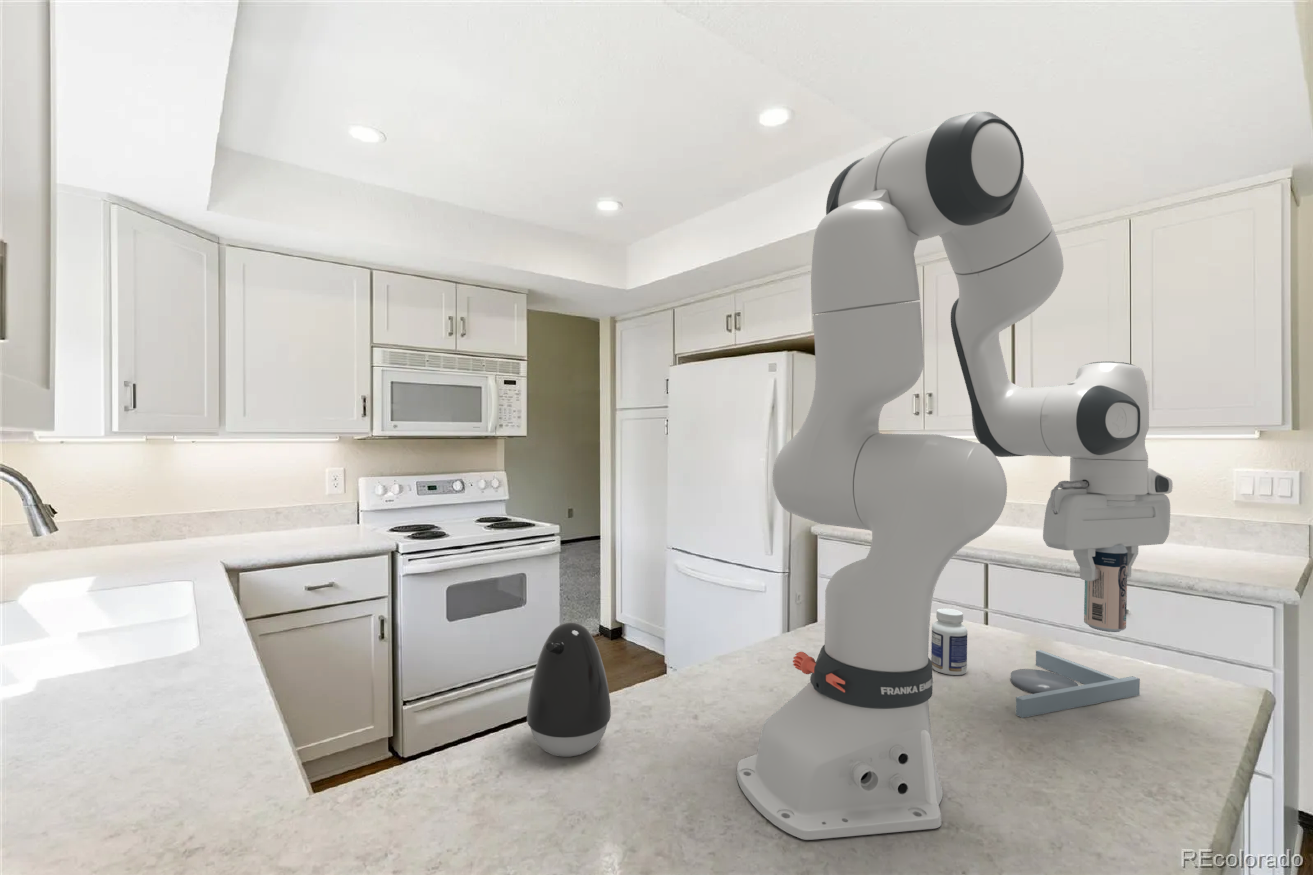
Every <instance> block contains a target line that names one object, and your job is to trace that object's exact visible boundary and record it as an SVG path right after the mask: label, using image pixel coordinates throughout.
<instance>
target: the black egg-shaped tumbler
mask: <svg viewBox="0 0 1313 875" xmlns="http://www.w3.org/2000/svg"><path fill="white" fill-rule="evenodd" d="M528 695H529V696H528V701H527V711H526V721H527V724H528V726H529V728H530V732H531V735H532V737H533V739H534V741H535V742H536V744H537V745H538V747H539V748H541V749H542V750H543V751H544V752H546V753H548V754H550V755H553V756H558V757H564V758H567V757H577V756H579V755H583V754H586V753H587V752H589V751H591V750H592V749H593V748H595V746H597V745H598V744H599V742H600V741H601V740H602V738H603V737H604V735H605V732H606V730H607V726H608V723H609V722H610V720H611V715H612V712H611V711H612V709H611V708H612V707H611V706H612V705H611V697H610V690H609V684H608V679H607V674H606V669H605V666H604V663H603V660H602V656H601V653H600V650H599V647H598V645H597V643H596V640H595V638H594V637H593V635H592V633H591V632H590V631H589V630H588V629H587V627H585V626H584V625H583V624H580V623H577V622H572V621H571V622H564V623H562V624H560V625H558V626H556V627H555V628H554V629H553V630H552V631H551V632H550V633H549V635H548V637H547V639H546V640H545V642H544V644H543V645H542V649H541V650H540V654H539V656H538V659H537V663H536V666H535V669H534V672H533V677H532V681H531V686H530V690H529V694H528Z"/></svg>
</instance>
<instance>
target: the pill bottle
mask: <svg viewBox="0 0 1313 875" xmlns="http://www.w3.org/2000/svg"><path fill="white" fill-rule="evenodd" d="M935 619H937V621H934V622H933V623H932V624H931V646H930V647H931V648H930V649H931V651H930V652H931V653H930V654H931V655H930V657H931V658H930V660H931V661H932V670H933V671H934V670H935V672H938V673H941V674H943V675H944V674H945V675H950V676H962V675H965V674H966V673H967V671H968V628H967V627H966V626H965V625H964V624H963V622H964V613H963V612H962V611H961V610H957V609H954V608H946V607H945V608H937V609H936V618H935Z"/></svg>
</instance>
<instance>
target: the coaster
mask: <svg viewBox="0 0 1313 875" xmlns="http://www.w3.org/2000/svg"><path fill="white" fill-rule="evenodd" d="M1010 682H1011V684H1012V685H1013V686H1015V687H1016V688H1018V689H1019V690H1021V691H1024V692H1025V693H1030V694H1035V693H1041V692H1047V691H1052V690H1058V689H1064V688H1069V687H1075V686H1079V684H1078V683H1077V681H1076V682H1075V680H1072V679H1070V678H1067V677H1065V676H1062V675H1060V674H1057V673H1055V672H1052V671H1049V670H1047V671H1046V670H1042V669H1036V668H1035V669H1033V668H1020V669H1015V670H1013V671H1011V672H1010Z"/></svg>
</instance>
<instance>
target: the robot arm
mask: <svg viewBox="0 0 1313 875" xmlns="http://www.w3.org/2000/svg"><path fill="white" fill-rule="evenodd" d="M1022 146H1023V145H1022V143H1021V140H1020V138H1019V135H1018V134H1017V132H1016V130H1014V128H1013V127H1012V126H1011V125H1010V124H1009V123H1008V122H1007V121H1005V120H1004V119H1003V118H1001V117H999V116H998V115H997V114H994V113H992V112H990V111H976V112H975V111H973V112H969V113H964V114H960V115H956V116H953V117H950V118H948V119H946V120H945V121H943V122H942V123H941V124H938V125H935V126H930V127H927V128H925V129H922V130H920V131H917V132H914V133H912V134H909V135H905V136H904V135H903V136H901V137H898V138H896V139H895V140H892V141H890V142H888V143H887V144H885V145H883V146H881V147H880V148H878V149H876V150H874V151H873V152H871V153H870V154H868V155H866V156H865V157H860V158H859V159H858V158H857V159H856V160H854V161H853V162H852V163H851V164H849V165H848V166H847V167H846V168H844V169H843V170H842V171H841V172H840V173H839V174H838V175H837V176H836V177H835V179H834V181H833V182H832V184H831V186H830V188H829V191H828V194H827V199H826V203H825V204H826V207H825V216H824V217H823V218H822V219H821V220H820V222H819V223H818V225H817V227H816V230H815V233H814V237H813V246H812V255H811V256H812V257H811V272H810V273H811V277H810V280H811V281H810V290H811V293H810V294H811V296H810V297H811V298H810V299H811V310H812V312H811V313H812V324H813V325H812V326H813V337H814V338H813V340H814V357H815V360H814V361H815V381H814V391H813V397H812V401H811V404H810V408H809V411H808V413H807V415H806V418H805V420H804V422H803V424H802V425H801V427H800V429H799V430H798V432H797V433H796V434H795V435H794V436H793V437H792V438H791V439H790V440H789V441H787V442H786V443H785V445H783V447H782V448H781V449H780V451H779V452H778V454H777V457H776V459H775V462H774V465H773V469H772V485H773V491H774V493H775V495H776V498H777V501H778V502H779V504H780V506H781V507H782V508H783V509H784V510H785V511H787V512H788V513H790V514H793V515H795V516H798V517H801V518H802V519H805V520H809V521H811V522H814V523H816V524H821V525H826V526H834V527H843V528H850V529H857V530H866V531H870V532H871V533H872V535H871V537H872V538H871V545H870V549H869V552H868V554H867V556H866V557H865V558H862V559H859V560H857V561H855V562H854V561H853V562H851V563H849V564H847V565H845V566H843V567H841V568H840V569H838V570H837V571H836V572H835V573H834V574H833V575H832V576H831V578H830V579H829V581H828V583H827V585H826V587H825V595H824V596H825V597H824V599H825V600H824V644H823V645H822V647H821V648H820V651H819V654H818V655H817V658H816V660H815V658H814V657H812V656H809V655H808V654H807V653H806V652H804V651H799V652H796V653H795V656H793V658H792V659H793V660H792V663H793V664H792V665H793V666H794V668H795V669H797V670H799V671H801V672H802V673H803V674H805V675H810V677H809V678H810V679H809V680H810V681H809V683H808V684H806V685H805V686H804V687H803V688H802V689H801V690H800V691H798V692H797V693H796V694H795V695H794V696H793V697H792V698H790V700H788V701H787V702H786V703H785V704H784V705H783V706H781V707H780V708H779V709H778V710H776V712H774V713H773V714H772V715H771V716H769V717H768V718H767V719H766V720H765V722H764V723H763V725H762V728H761V732H760V736H759V740H758V745H757V746H758V747H757V753H756V754H753V755H750V756H747V757H745V758H742V759H739V761H738V763H737V768H736V779H737V782H738V785H739V787H740V789H741V791H742V793H743V794H744V796H745V797H746V798H747V800H748V801H749V802H750V803H751V805H753V806H754V808H755V809H756V810H757V811H758V813H760V814H761V815H762V816H763V817H764V818H765V819H767V820H768V821H769V822H770V823H772V825H774V826H776V827H777V828H778V829H780V830H782V831H784V832H786V833H787V834H789V835H792V836H794V837H797V838H798V839H801V840H805V841H809V840H821V839H833V838H844V837H855V836H856V837H857V836H867V835H878V834H887V833H888V834H889V833H899V832H900V833H901V832H912V831H922V830H923V831H924V830H932V829H933V830H934V829H937V828H939V827H942V814H941V809H940V804H941V801H942V799H943V794H944V792H943V791H944V790H943V787H942V784H941V780H940V776H939V774H938V772H939V771H938V769H937V763H936V759H935V754H934V744H933V737H932V726H931V718H930V717H931V716H930V704H929V700H930V699H931V698H932V696H933V684H934V678H933V668H932V661H931V658H929V649H930V648H929V647H930V646H929V645H930V644H929V642H930V626H931V625H930V624H931V613H932V604H933V603H932V602H933V597H934V593H935V589H936V587H937V583H938V580H939V579H940V576H941V574H942V573H943V571H944V569H945V568H946V566H947V564H948V563H949V562H950V560H951V559H952V558H953V557H954V556H955V554H957V553H958V552H959V551H960V550H961V549H962V548H964V547H965V546H966V545H968V544H969V543H971V542H972V541H973V540H976V539H977V538H979V537H980V536H982V535H984V534H985V533H986V532H988V531H989V530H990V529H991V528H992V527H993V526H994V525H995V524H996V523H997V521H998V520H999V519H1000V517H1001V515H1002V513H1003V511H1004V508H1005V506H1006V502H1007V496H1008V495H1007V494H1008V483H1007V479H1006V475H1005V471H1004V468H1003V466H1002V465H1001V462H1000V461H999V459H998V458H999V457H1000V458H1005V457H1006V458H1008V457H1009V458H1010V457H1026V456H1033V457H1034V456H1035V457H1037V456H1038V457H1056V458H1057V457H1059V458H1062V457H1069V480H1062V481H1061V480H1060V481H1059V482H1058V483H1057V484H1056V486H1054V488H1053V489H1051V491H1050V496H1049V497H1048V500H1047V502H1046V508H1045V511H1044V519H1043V520H1044V521H1043V529H1042V530H1043V531H1042V540H1043V541H1044V543H1045V545H1046V546H1047V547H1048V548H1050V549H1051V548H1052V549H1057V550H1062V551H1073V557H1074V559H1075V561H1076V563H1077V564H1078V566H1079V578H1080V579H1081V580H1082V581H1085V580H1086V581H1097V580H1099V579H1100V576H1099V574H1100V568H1096V567H1095V564H1094V561H1093V558H1092V557H1095V549H1099V548H1111V547H1113V546H1114V545H1122V544H1123V545H1124V546H1125V547H1126V549H1127V551H1128V559H1127V579H1128V578H1131V577H1132V566H1133V564H1134V563H1135V561H1136V559H1137V558H1138V555H1139V546H1140V547H1141V546H1155V545H1164V544H1165V543H1166V540H1168V537H1169V535H1170V527H1171V502H1170V498H1169V497H1168V494H1170V493H1172V491H1173V487H1174V486H1173V480H1172V478H1170V477H1169V476H1166V475H1164V474H1161V473H1159V472H1157V471H1156V470H1154V469H1153V468H1149V454H1148V452H1147V448H1146V437H1147V434H1148V432H1149V429H1150V405H1149V394H1148V393H1149V391H1148V387H1147V381H1146V376H1145V374H1144V371H1143V369H1142V368H1140V367H1139V366H1137V365H1135V364H1131V363H1129V362H1123V361H1122V362H1119V361H1118V362H1117V361H1095V362H1089V363H1085V364H1084V365H1081V366H1080V367H1079V368H1078V369H1077V372H1076V375H1075V379H1074V380H1072V381H1071V382H1068V383H1066V384H1059V385H1053V386H1052V385H1051V386H1050V385H1049V386H1035V387H1034V386H1032V387H1027V386H1026V387H1025V386H1020V385H1017V384H1015V383H1013V382H1012V381H1011V380H1010V379H1009V377H1008V373H1007V367H1006V364H1005V360H1004V355H1003V351H1002V346H1001V343H1000V332H1002V331H1003V330H1006V329H1007V328H1009V327H1011V326H1014V324H1017V323H1019V322H1020V321H1022V320H1023V319H1025V318H1027V317H1029V316H1030V315H1031V314H1032V313H1034V312H1035V311H1037V309H1039V308H1040V307H1041V306H1042V305H1043V304H1045V303H1046V301H1047V300H1048V299H1049V298H1050V297H1051V296H1052V295H1053V293H1054V292H1055V291H1056V289H1057V288H1058V285H1059V283H1060V281H1061V278H1062V276H1063V272H1064V257H1063V253H1062V252H1063V251H1062V249H1061V245H1060V242H1059V239H1058V237H1057V234H1056V232H1055V229H1054V227H1053V224H1052V222H1051V220H1050V217H1049V214H1048V212H1047V210H1046V208H1045V206H1044V204H1043V202H1042V200H1041V198H1040V197H1039V194H1038V193H1037V191H1036V189H1035V188H1034V186H1033V184H1032V183H1031V181H1030V179H1029V178H1028V176H1027V175H1026V174H1025V171H1024V169H1025V168H1024V167H1025V159H1024V158H1025V156H1024V151H1023V147H1022ZM934 237H940V238H941V242H942V244H943V248H944V250H945V253H946V256H947V259H948V261H949V264H950V267H951V268H952V270H953V273H954V276H955V278H956V281H957V285H958V297H957V299H956V300H955V301H954V302H953V305H952V307H951V310H950V311H951V312H950V327H951V334H952V337H953V342H954V347H955V351H956V354H957V358H958V362H959V365H960V369H961V372H962V376H963V380H964V384H965V387H966V390H967V393H968V398H969V402H970V408H971V420H972V421H971V422H972V429H973V432H974V433H973V434H974V436H975V437H976V440H977V441H978V442H975V441H971V440H966V439H963V438H958V437H953V436H946V435H941V434H931V433H929V434H928V433H927V434H926V433H925V434H923V433H922V434H920V433H918V434H917V433H916V434H914V433H913V434H912V433H880V429H879V428H880V426H879V422H880V415H881V412H882V409H883V407H884V406H885V405H886V404H888V403H890V402H892V401H894V400H895V399H897V398H899V397H901V396H902V395H904V394H905V393H906V392H908V391H909V390H910V389H912V388H913V387H914V386H915V385H916V383H917V382H918V380H920V377H921V374H922V372H923V370H924V366H925V361H924V360H925V359H924V347H923V346H924V344H923V330H922V312H921V311H922V310H921V300H920V299H921V297H920V296H921V295H920V284H919V278H918V277H919V276H918V270H917V265H916V258H915V250H916V247H917V244H918V242H919V241H924V240H928V239H932V238H934ZM997 457H998V458H997Z"/></svg>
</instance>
